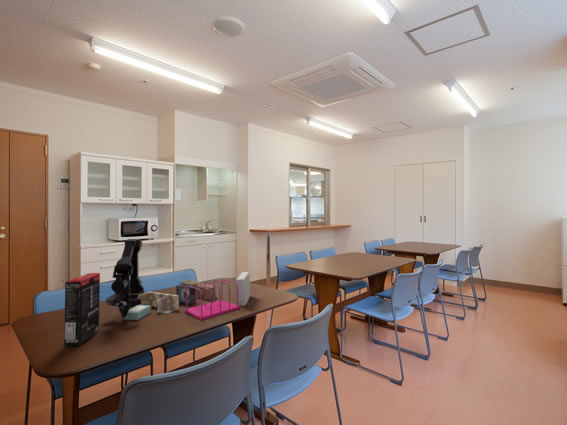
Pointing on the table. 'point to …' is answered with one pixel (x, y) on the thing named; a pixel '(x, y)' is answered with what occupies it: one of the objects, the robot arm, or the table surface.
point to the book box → (138, 312)
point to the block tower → (201, 288)
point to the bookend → (163, 306)
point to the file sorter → (213, 307)
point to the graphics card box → (81, 308)
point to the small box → (182, 294)
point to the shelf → (152, 298)
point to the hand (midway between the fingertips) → (123, 317)
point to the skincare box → (243, 288)
